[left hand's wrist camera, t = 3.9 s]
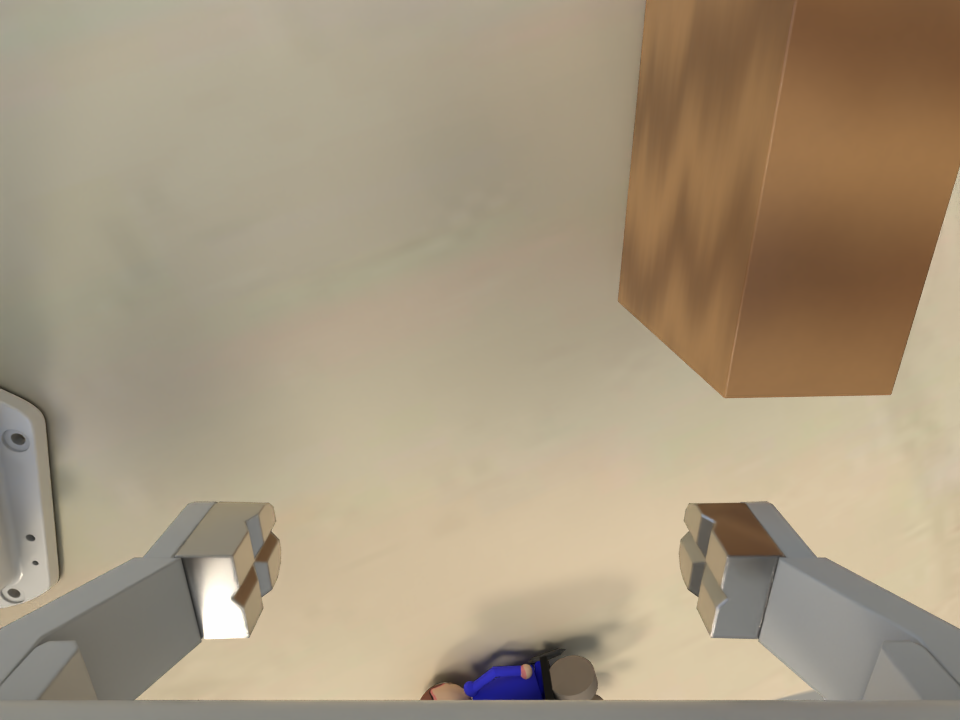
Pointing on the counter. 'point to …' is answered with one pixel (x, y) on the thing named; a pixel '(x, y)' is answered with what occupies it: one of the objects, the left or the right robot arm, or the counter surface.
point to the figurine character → (527, 682)
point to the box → (790, 186)
